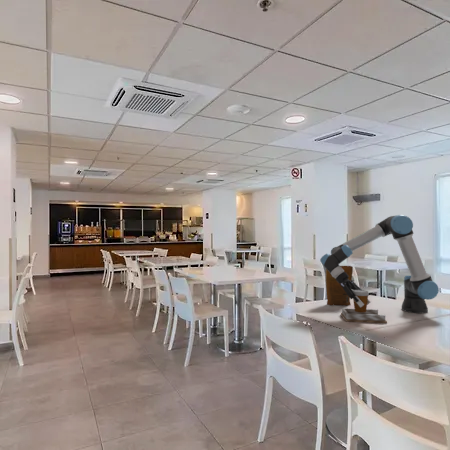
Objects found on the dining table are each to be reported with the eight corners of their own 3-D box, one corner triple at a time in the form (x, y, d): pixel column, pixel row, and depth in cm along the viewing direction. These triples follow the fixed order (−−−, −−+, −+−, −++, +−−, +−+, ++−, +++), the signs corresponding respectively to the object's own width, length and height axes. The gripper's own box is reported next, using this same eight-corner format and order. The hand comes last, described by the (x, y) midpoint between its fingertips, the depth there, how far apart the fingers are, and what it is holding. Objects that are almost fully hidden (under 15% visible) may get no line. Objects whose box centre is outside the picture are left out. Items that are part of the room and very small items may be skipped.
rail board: (378, 316, 210) (378, 309, 210) (386, 323, 193) (386, 315, 193) (340, 314, 213) (340, 307, 214) (346, 321, 197) (346, 314, 197)
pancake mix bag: (354, 306, 237) (354, 266, 238) (325, 305, 240) (325, 265, 241) (351, 304, 244) (351, 265, 245) (324, 303, 247) (324, 264, 247)
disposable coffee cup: (370, 313, 198) (370, 292, 198) (353, 312, 200) (353, 292, 200) (367, 309, 207) (367, 290, 208) (350, 309, 209) (350, 289, 210)
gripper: (343, 277, 223) (368, 305, 211) (327, 280, 207) (353, 311, 195) (351, 270, 219) (377, 298, 208) (335, 272, 203) (362, 303, 192)
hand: (365, 304), depth 202 cm, fingers closed on disposable coffee cup, 9 cm apart
